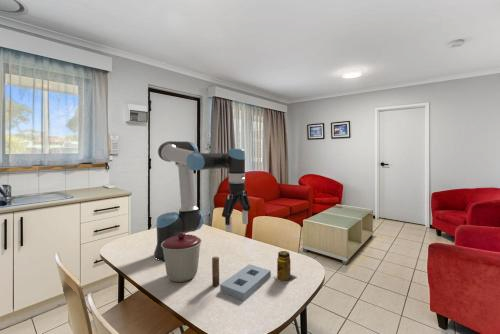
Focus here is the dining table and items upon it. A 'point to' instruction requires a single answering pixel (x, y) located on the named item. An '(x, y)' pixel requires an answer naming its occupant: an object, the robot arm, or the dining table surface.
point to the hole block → (245, 281)
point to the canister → (181, 256)
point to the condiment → (284, 267)
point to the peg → (215, 271)
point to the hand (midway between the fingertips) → (237, 227)
